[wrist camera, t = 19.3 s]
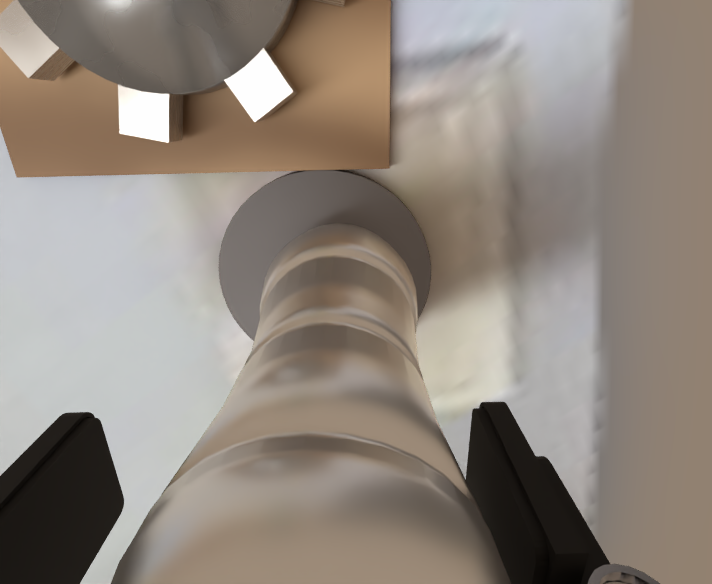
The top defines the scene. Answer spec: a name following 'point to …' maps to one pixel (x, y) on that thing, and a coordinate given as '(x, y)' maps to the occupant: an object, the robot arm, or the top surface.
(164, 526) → the plastic bottle
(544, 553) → the robot arm
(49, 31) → the sprocket
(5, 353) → the top surface
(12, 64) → the base plate
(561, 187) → the top surface
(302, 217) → the pad
